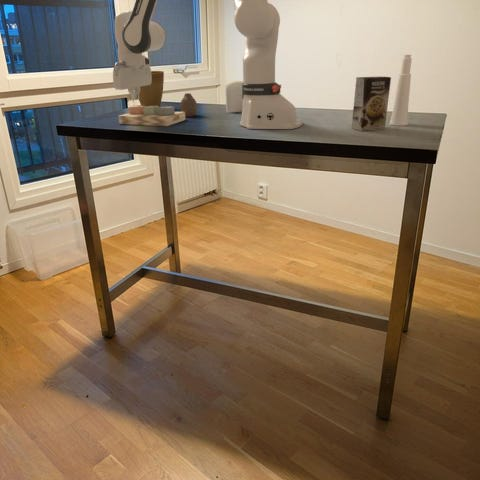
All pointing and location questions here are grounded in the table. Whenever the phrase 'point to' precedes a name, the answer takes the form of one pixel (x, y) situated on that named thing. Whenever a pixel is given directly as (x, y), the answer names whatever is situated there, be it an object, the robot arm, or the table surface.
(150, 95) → the plant pot
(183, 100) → the vase
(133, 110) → the button one
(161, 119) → the button panel
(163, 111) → the button two
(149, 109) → the button three
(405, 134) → the table surface
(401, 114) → the cosmetic bottle
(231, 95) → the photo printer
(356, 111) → the cookie box
